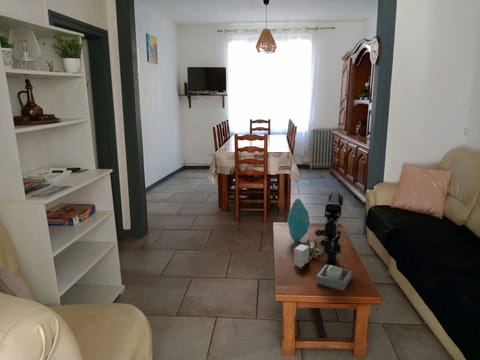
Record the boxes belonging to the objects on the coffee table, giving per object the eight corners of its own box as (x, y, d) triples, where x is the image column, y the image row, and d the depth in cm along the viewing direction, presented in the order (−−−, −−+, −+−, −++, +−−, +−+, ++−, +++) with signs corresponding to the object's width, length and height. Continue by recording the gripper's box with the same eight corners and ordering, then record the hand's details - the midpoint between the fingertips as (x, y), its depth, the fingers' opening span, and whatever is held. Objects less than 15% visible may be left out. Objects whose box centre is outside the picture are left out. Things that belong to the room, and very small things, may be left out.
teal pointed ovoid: (309, 245, 231) (311, 201, 224) (288, 245, 231) (289, 201, 224) (306, 237, 243) (308, 195, 235) (286, 238, 243) (287, 195, 236)
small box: (300, 260, 212) (301, 243, 209) (309, 262, 208) (309, 246, 205) (293, 265, 206) (293, 248, 203) (302, 268, 202) (302, 251, 200)
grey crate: (325, 271, 197) (325, 264, 196) (350, 278, 190) (351, 270, 189) (316, 283, 186) (316, 275, 185) (343, 290, 179) (343, 282, 178)
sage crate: (329, 275, 192) (330, 265, 191) (341, 278, 189) (342, 268, 188) (326, 280, 187) (326, 270, 186) (338, 283, 184) (338, 273, 182)
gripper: (323, 217, 202) (322, 242, 206) (311, 228, 187) (310, 255, 191) (342, 220, 197) (341, 247, 200) (332, 232, 181) (330, 260, 185)
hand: (330, 252), depth 194 cm, fingers open, 9 cm apart
